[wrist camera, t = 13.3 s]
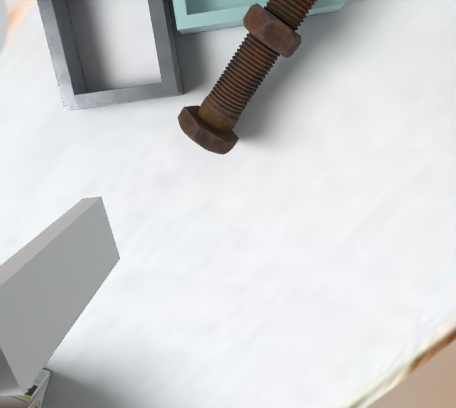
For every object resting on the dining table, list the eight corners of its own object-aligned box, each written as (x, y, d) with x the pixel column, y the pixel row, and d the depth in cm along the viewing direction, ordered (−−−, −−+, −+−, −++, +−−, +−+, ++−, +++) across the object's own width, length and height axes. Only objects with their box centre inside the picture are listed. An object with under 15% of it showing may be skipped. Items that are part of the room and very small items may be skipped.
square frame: (161, -41, 33) (153, -54, 30) (183, 94, 36) (178, 95, 33) (47, -22, 33) (28, -32, 31) (78, 109, 37) (64, 110, 34)
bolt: (273, -58, 25) (167, 122, 32) (332, -15, 25) (212, 159, 31) (289, -34, 31) (195, 117, 37) (338, 3, 30) (235, 149, 37)
